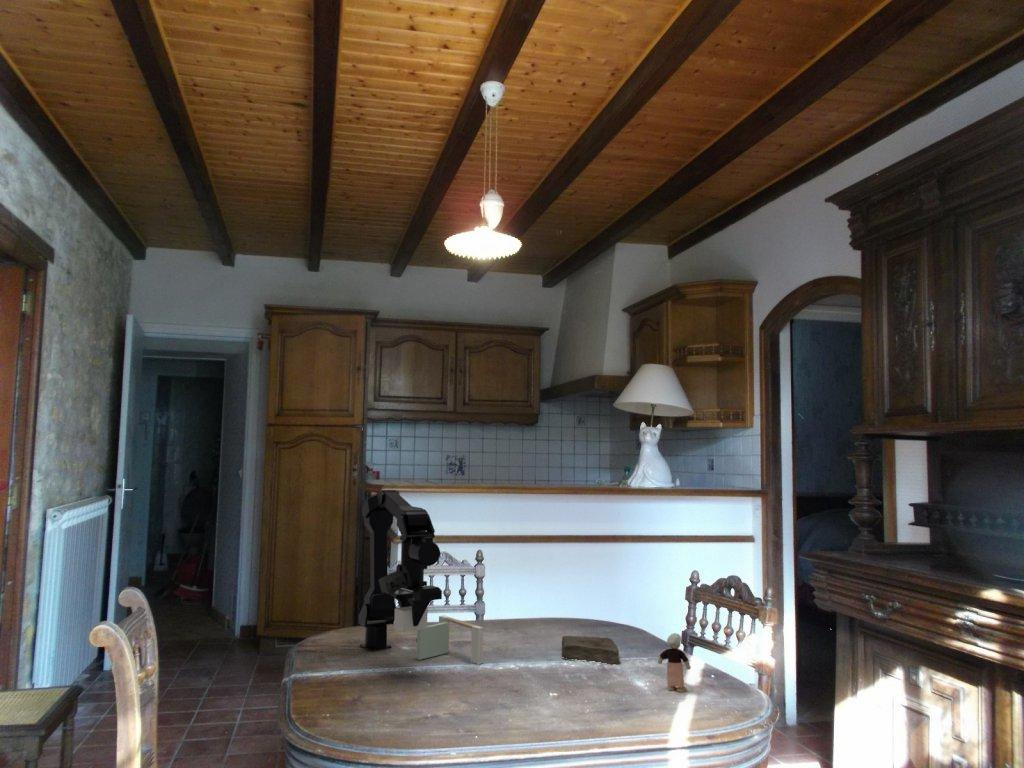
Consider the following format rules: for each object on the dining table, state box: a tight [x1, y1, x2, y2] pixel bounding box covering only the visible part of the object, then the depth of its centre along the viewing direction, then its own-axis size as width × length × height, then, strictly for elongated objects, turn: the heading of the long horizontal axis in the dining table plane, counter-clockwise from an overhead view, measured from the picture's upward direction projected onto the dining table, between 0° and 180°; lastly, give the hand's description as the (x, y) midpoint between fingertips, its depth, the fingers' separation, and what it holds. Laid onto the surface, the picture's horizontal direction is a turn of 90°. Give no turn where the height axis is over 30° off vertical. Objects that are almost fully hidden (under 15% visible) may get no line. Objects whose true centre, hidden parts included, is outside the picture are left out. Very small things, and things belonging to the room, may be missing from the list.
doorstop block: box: [393, 606, 429, 633], centre depth 197 cm, size 4×7×5 cm, turn 129°
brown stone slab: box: [561, 635, 620, 665], centre depth 213 cm, size 17×15×4 cm
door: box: [415, 622, 450, 661], centre depth 210 cm, size 10×2×8 cm, turn 139°
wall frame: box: [438, 615, 484, 665], centre depth 210 cm, size 18×2×9 cm, turn 39°
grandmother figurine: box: [657, 632, 691, 693], centre depth 184 cm, size 8×4×13 cm, turn 71°
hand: (410, 624), depth 197 cm, fingers closed on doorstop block, 4 cm apart
